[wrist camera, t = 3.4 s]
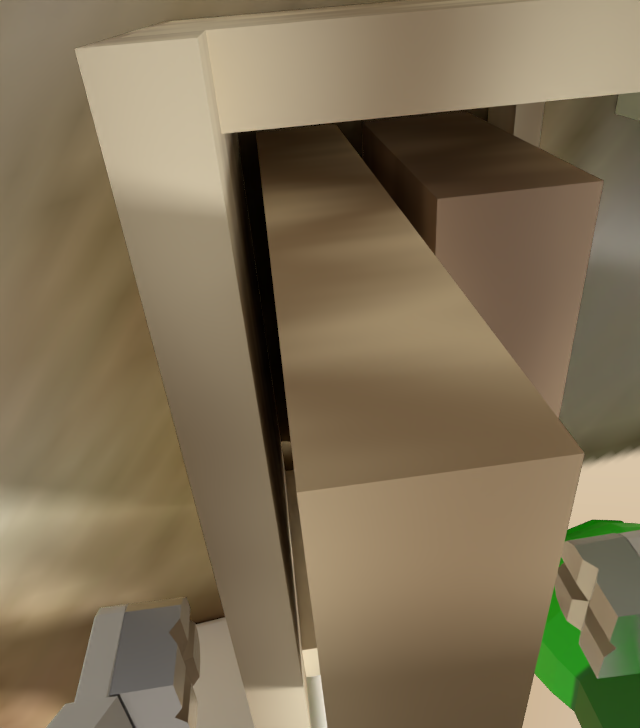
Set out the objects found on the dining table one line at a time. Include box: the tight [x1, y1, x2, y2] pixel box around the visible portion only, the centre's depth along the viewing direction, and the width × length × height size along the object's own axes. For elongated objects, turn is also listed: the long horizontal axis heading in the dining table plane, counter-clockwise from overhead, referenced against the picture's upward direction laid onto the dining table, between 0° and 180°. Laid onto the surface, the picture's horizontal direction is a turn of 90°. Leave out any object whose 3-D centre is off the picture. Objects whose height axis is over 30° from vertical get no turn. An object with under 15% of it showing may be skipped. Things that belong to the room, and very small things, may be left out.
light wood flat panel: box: [256, 124, 585, 728], centre depth 14 cm, size 2×12×15 cm, turn 4°
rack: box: [75, 0, 640, 728], centre depth 16 cm, size 10×18×10 cm, turn 4°
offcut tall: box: [362, 111, 604, 419], centre depth 16 cm, size 3×6×8 cm, turn 4°
